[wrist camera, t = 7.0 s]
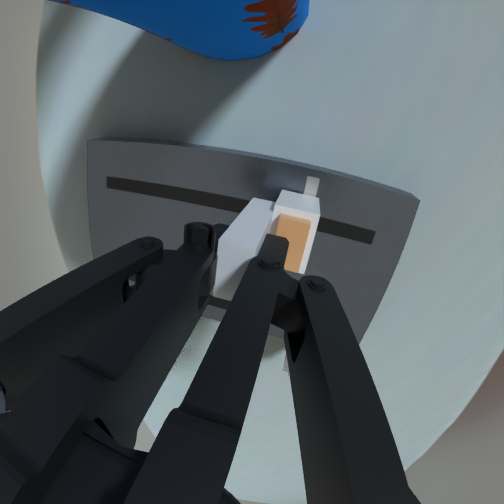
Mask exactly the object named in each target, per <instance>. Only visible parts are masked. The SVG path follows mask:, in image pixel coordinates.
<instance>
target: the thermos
mask: <svg viewBox="0 0 504 504" xmlns="http://www.w3.org/2000/svg"><path fill="white" fill-rule="evenodd" d="M50 1H54V2H59V3H63V4H68V5H72V6H76V7H79V8H83V9H86V10H90V11H93V12H96V13H100V14H103V15H106V16H109V17H112V18H115V19H117V20H120V21H123V22H125V23H128V24H131V25H133V26H136V27H138V28H141V29H143V30H146V31H148V32H150V33H152V34H155V35H157V36H159V37H161V38H164V39H166V40H168V41H170V42H173V43H175V44H177V45H179V46H181V47H184V48H186V49H188V50H191V51H193V52H196V53H198V54H201V55H203V56H206V57H208V58H215V59H222V60H229V61H234V60H240V59H248V58H256V57H258V56H261V55H263V54H265V53H268V52H270V51H273V50H275V49H278V48H280V47H281V46H282V45H284V44H285V43H286V42H287V41H288V40H290V39H291V38H292V37H293V36H295V35H296V34H297V33H298V32H299V30H300V28H301V27H302V25H303V23H304V21H305V20H306V18H307V16H308V9H309V0H50Z"/></svg>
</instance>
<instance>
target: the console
mask: <svg viewBox="0 0 504 504" xmlns="http://www.w3.org/2000/svg"><path fill="white" fill-rule="evenodd" d="M87 189H88V209H89V222H90V233H91V243H92V251H93V258H94V259H96V258H98V257H100V256H102V255H104V254H106V253H108V252H110V251H112V250H115V249H117V248H119V247H121V246H123V245H125V244H127V243H129V242H131V241H133V240H136V239H138V238H141V237H146V236H150V237H155V238H158V239H160V240H162V242H163V249H169V250H177V249H178V248H179V247H180V246H181V245H182V244H183V242H184V225H185V224H187V223H191V222H204V223H208V224H211V225H215V224H218V223H220V224H225V225H229V226H230V225H231V224H232V223H233V221H234V220H235V219H236V218H237V217H238V215H239V214H240V213H241V212H242V211H243V209H244V208H245V207H246V206H247V205H248V203H249V202H250V201H251V200H252V199H253V198H258V199H263V200H268V201H272V202H276V201H277V199H278V197H279V195H280V193H281V191H282V190H286V191H291V192H295V193H300V194H304V195H308V196H312V197H317V198H319V205H320V218H319V222H318V226H317V230H316V233H315V237H314V241H313V244H312V248H311V252H310V255H309V259H308V262H307V266H306V270H305V273H304V274H301V273H296V272H292V271H288V270H285V272H286V273H287V274H288V275H289V276H291V277H292V278H294V279H296V280H300V279H301V278H302V277H303V276H306V275H315V276H320V277H323V278H325V279H326V280H327V281H329V282H330V283H331V284H332V285H333V287H334V289H335V291H336V293H337V296H338V298H339V300H340V302H341V305H342V307H343V309H344V311H345V314H346V316H347V318H348V320H349V323H350V325H351V327H352V330H353V332H354V334H355V337H356V339H357V342H358V344H359V343H360V342H361V340H362V338H363V336H364V334H365V332H366V330H367V328H368V327H369V325H370V323H371V321H372V319H373V317H374V315H375V313H376V311H377V309H378V306H379V304H380V302H381V300H382V298H383V296H384V294H385V292H386V289H387V287H388V285H389V283H390V280H391V278H392V276H393V273H394V271H395V269H396V266H397V264H398V261H399V259H400V256H401V254H402V251H403V249H404V246H405V243H406V241H407V238H408V235H409V232H410V230H411V227H412V224H413V221H414V218H415V215H416V212H417V209H418V206H419V202H420V200H419V199H418V198H416V197H415V196H414V195H412V194H411V193H408V192H405V191H402V190H399V189H396V188H393V187H390V186H387V185H384V184H380V183H377V182H374V181H371V180H367V179H364V178H360V177H357V176H353V175H349V174H346V173H342V172H338V171H334V170H330V169H326V168H322V167H318V166H314V165H310V164H305V163H301V162H296V161H292V160H287V159H282V158H277V157H272V156H267V155H262V154H256V153H250V152H245V151H238V150H232V149H226V148H219V147H211V146H204V145H196V144H187V143H178V142H167V141H155V140H142V139H123V138H98V139H92V140H88V144H87ZM128 279H129V286H133V285H134V284H135V280H134V275H132V276H131V277H129V278H128ZM213 289H214V287H213ZM213 289H212V290H211V292H210V300H209V303H208V305H207V307H206V309H205V310H204V312H203V314H202V315H201V316H205V317H208V318H211V319H215V320H218V321H222V319H223V317H224V315H225V312H226V310H227V308H228V306H229V304H230V302H231V301H229V300H225V299H221V298H217V297H214V296H213ZM268 334H272V335H276V336H280V337H284V330H283V329H281V328H279V327H277V326H275V325H273V324H270V328H269V332H268Z"/></svg>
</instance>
